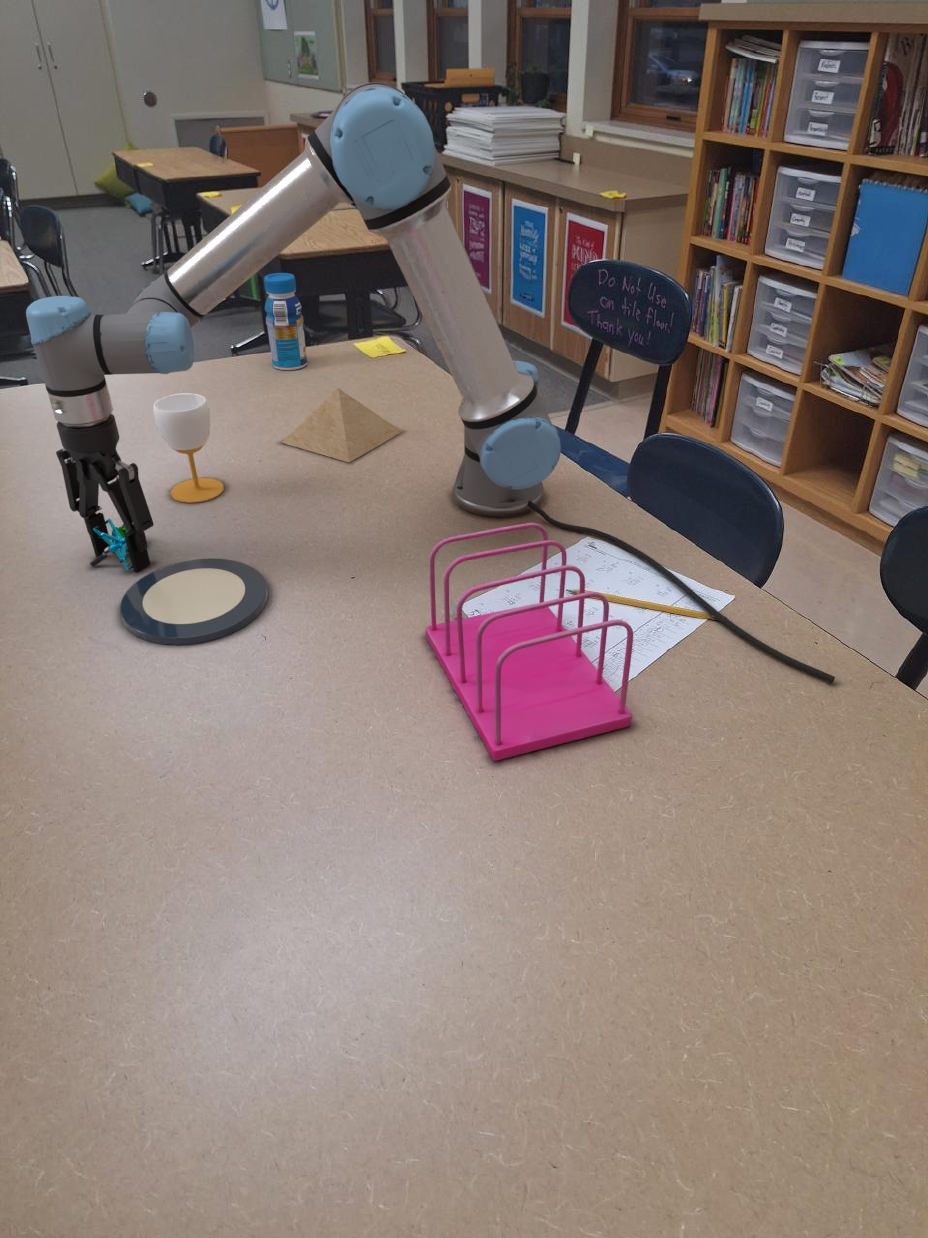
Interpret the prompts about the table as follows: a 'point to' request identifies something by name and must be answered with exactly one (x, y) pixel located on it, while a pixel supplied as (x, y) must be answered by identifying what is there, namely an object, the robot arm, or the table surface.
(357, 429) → the model pyramid
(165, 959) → the table surface
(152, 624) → the plate
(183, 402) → the cup
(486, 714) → the file sorter
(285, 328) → the beverage bottle
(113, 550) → the spiky blue green toy
